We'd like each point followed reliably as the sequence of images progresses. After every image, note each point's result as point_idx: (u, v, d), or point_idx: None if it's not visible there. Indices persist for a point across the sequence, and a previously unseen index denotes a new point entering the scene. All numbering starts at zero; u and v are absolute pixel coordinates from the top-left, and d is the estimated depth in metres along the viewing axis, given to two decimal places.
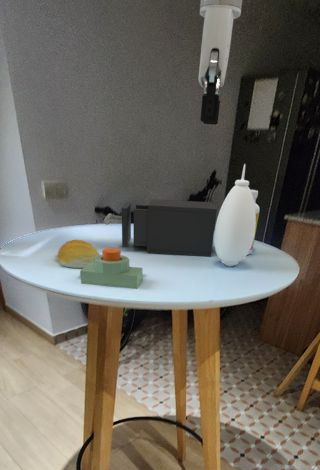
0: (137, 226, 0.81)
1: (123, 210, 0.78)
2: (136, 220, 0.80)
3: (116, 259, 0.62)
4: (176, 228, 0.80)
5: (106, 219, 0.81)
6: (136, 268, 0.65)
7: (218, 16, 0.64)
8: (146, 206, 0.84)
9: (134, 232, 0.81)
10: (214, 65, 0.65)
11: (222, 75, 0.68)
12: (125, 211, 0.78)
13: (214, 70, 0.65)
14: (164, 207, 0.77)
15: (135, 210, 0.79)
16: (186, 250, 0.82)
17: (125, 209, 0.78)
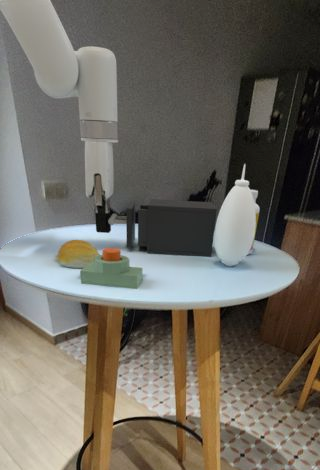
0: (142, 227, 0.81)
1: (128, 210, 0.78)
2: (141, 221, 0.80)
3: (116, 259, 0.62)
4: (176, 228, 0.80)
5: (111, 219, 0.81)
6: (136, 268, 0.65)
7: (96, 148, 0.72)
8: None
9: (139, 233, 0.81)
10: (100, 205, 0.77)
11: (107, 194, 0.76)
12: (130, 211, 0.78)
13: (101, 206, 0.78)
14: (164, 207, 0.77)
15: (140, 210, 0.79)
16: (186, 250, 0.82)
17: (130, 209, 0.78)
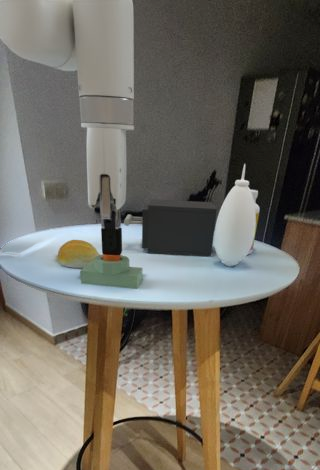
0: None
1: (144, 211, 0.78)
2: None
3: None
4: (176, 228, 0.80)
5: (126, 220, 0.81)
6: (136, 268, 0.65)
7: (103, 138, 0.49)
8: None
9: None
10: (108, 219, 0.55)
11: (118, 203, 0.54)
12: (146, 212, 0.78)
13: (109, 219, 0.55)
14: (164, 207, 0.77)
15: None
16: (186, 250, 0.82)
17: (146, 210, 0.78)
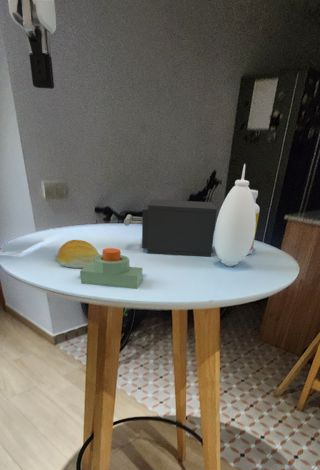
0: None
1: (144, 211, 0.78)
2: None
3: (116, 259, 0.62)
4: (176, 228, 0.80)
5: (126, 220, 0.81)
6: (136, 268, 0.65)
7: None
8: None
9: None
10: (30, 30, 0.55)
11: (39, 11, 0.54)
12: (146, 212, 0.78)
13: (32, 33, 0.55)
14: (164, 207, 0.77)
15: None
16: (186, 250, 0.82)
17: (146, 210, 0.78)
